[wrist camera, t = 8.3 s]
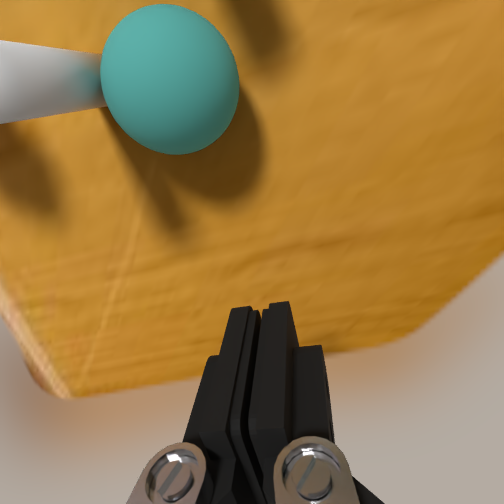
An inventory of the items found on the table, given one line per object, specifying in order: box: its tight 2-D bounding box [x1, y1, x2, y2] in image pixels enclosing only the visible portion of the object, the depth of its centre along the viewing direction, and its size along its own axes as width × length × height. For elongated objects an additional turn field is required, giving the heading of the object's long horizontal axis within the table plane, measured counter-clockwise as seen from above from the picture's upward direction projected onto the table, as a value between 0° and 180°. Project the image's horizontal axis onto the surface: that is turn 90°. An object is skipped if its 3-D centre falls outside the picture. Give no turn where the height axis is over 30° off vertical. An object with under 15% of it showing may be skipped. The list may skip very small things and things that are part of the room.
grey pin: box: [0, 40, 107, 124], centre depth 15 cm, size 2×2×9 cm
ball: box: [100, 4, 239, 155], centre depth 16 cm, size 6×6×6 cm
